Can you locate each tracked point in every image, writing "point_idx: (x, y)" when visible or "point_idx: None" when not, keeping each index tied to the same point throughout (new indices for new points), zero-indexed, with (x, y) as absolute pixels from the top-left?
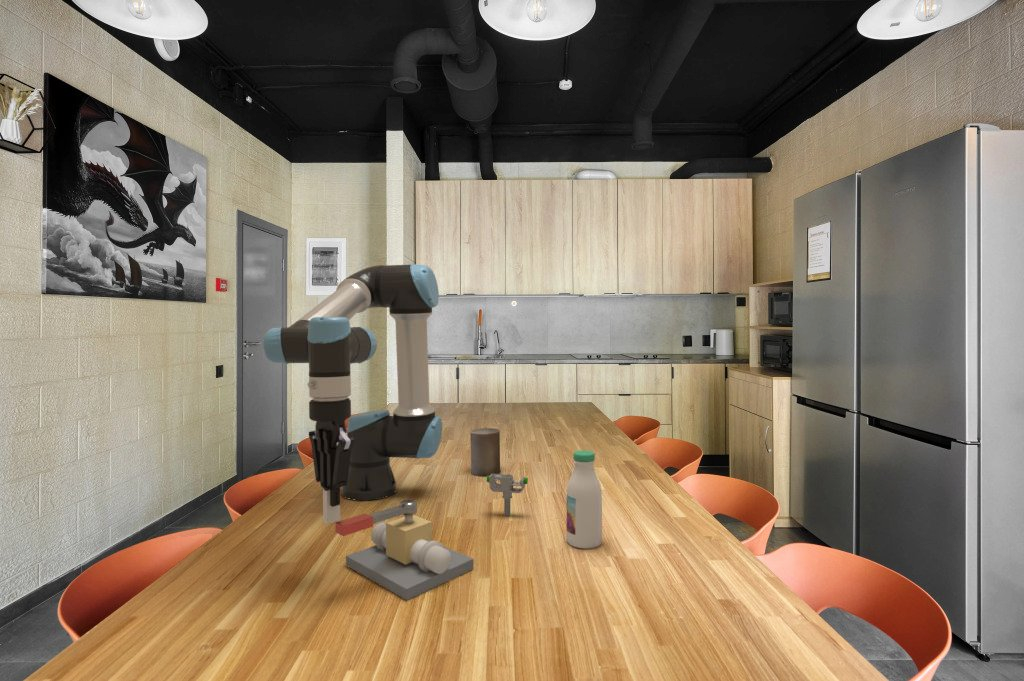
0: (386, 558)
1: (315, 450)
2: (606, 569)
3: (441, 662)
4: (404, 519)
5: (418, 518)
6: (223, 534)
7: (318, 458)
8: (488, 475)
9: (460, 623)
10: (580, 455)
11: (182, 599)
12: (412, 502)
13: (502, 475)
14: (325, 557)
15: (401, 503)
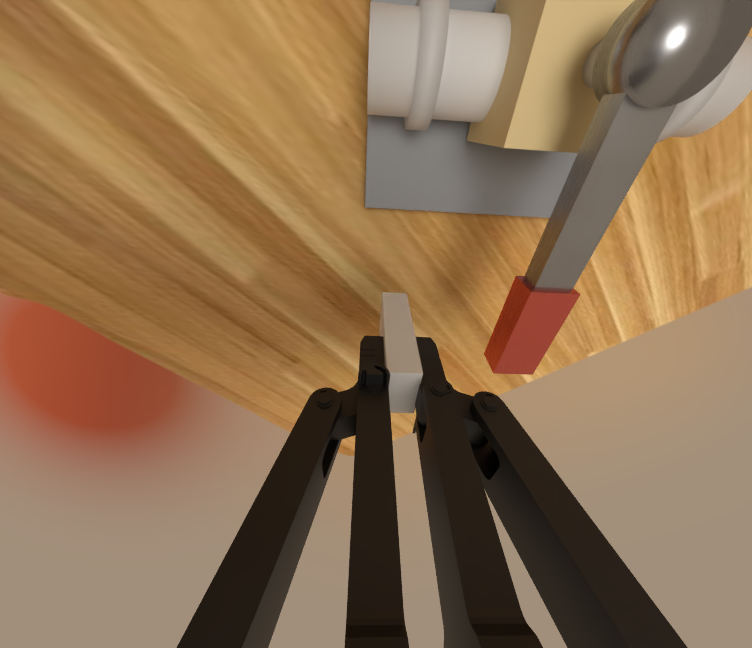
0: (467, 142)
1: (272, 628)
2: None
3: (711, 290)
4: (562, 46)
5: None
6: (15, 289)
7: (301, 548)
8: None
9: (732, 204)
10: None
11: (290, 393)
12: (724, 20)
13: None
14: (287, 206)
15: (648, 97)
